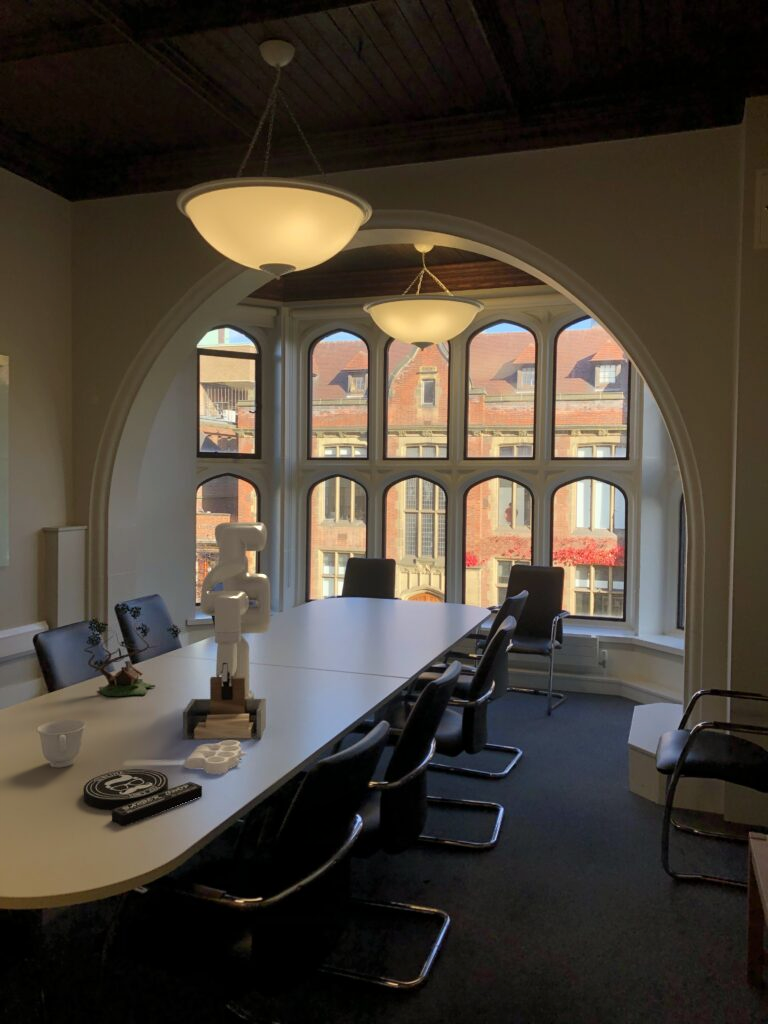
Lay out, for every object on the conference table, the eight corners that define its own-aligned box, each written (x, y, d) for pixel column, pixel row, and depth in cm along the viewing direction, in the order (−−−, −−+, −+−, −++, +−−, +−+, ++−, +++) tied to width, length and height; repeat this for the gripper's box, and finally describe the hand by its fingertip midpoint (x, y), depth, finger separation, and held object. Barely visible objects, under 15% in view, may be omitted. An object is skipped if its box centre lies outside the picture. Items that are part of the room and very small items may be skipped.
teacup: (37, 778, 203) (36, 739, 202) (36, 759, 216) (36, 722, 216) (88, 772, 207) (88, 733, 207) (84, 753, 221) (84, 717, 221)
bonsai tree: (68, 703, 268) (67, 608, 267) (94, 684, 293) (93, 597, 291) (174, 704, 269) (174, 609, 267) (191, 684, 293) (191, 598, 291)
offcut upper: (207, 723, 236) (207, 715, 236) (249, 721, 238) (249, 713, 238) (205, 730, 230) (205, 721, 230) (248, 728, 232) (248, 720, 232)
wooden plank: (211, 726, 241) (211, 676, 241) (245, 726, 242) (245, 676, 241) (210, 728, 239) (210, 678, 239) (244, 728, 240) (244, 678, 239)
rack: (192, 729, 242) (191, 699, 242) (265, 728, 243) (265, 698, 243) (183, 743, 229) (182, 711, 229) (261, 743, 230) (261, 711, 230)
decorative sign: (203, 798, 192) (141, 773, 208) (203, 786, 192) (141, 762, 208) (123, 828, 176) (63, 798, 191) (122, 815, 176) (62, 787, 191)
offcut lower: (198, 730, 238) (198, 722, 237) (253, 730, 238) (253, 721, 238) (194, 738, 231) (194, 729, 230) (250, 738, 231) (250, 729, 231)
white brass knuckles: (200, 751, 225) (252, 752, 224) (180, 775, 207) (236, 776, 206) (200, 739, 225) (252, 740, 224) (179, 762, 207) (236, 763, 206)
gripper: (219, 631, 247) (219, 691, 248) (210, 642, 231) (210, 706, 232) (244, 631, 248) (244, 690, 248) (236, 642, 231) (236, 705, 232)
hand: (227, 697), depth 240 cm, fingers open, 2 cm apart
